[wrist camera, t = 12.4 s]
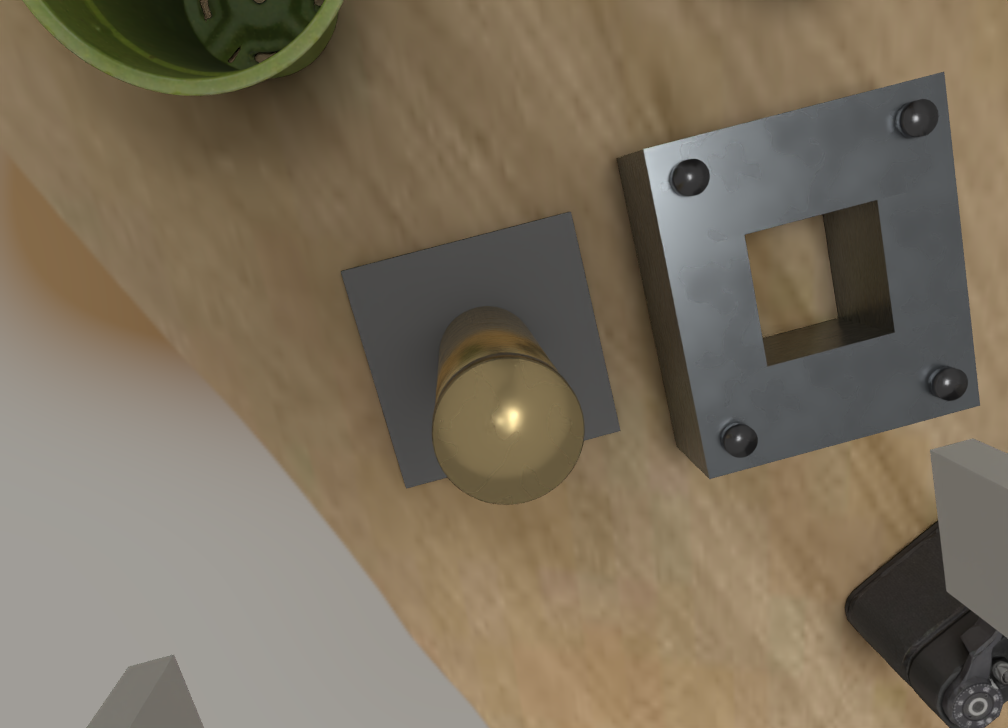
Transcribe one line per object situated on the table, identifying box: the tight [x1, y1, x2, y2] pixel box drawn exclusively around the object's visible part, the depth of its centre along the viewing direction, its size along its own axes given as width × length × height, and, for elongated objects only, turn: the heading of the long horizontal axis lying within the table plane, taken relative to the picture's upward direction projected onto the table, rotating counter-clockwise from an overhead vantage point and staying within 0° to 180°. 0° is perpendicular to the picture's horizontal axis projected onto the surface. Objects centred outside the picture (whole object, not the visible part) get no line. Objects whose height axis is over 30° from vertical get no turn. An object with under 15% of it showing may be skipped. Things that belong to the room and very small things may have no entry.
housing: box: [617, 72, 980, 479], centre depth 36 cm, size 16×14×6 cm
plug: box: [432, 306, 585, 505], centre depth 30 cm, size 5×5×14 cm
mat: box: [341, 212, 620, 488], centre depth 38 cm, size 12×12×1 cm
